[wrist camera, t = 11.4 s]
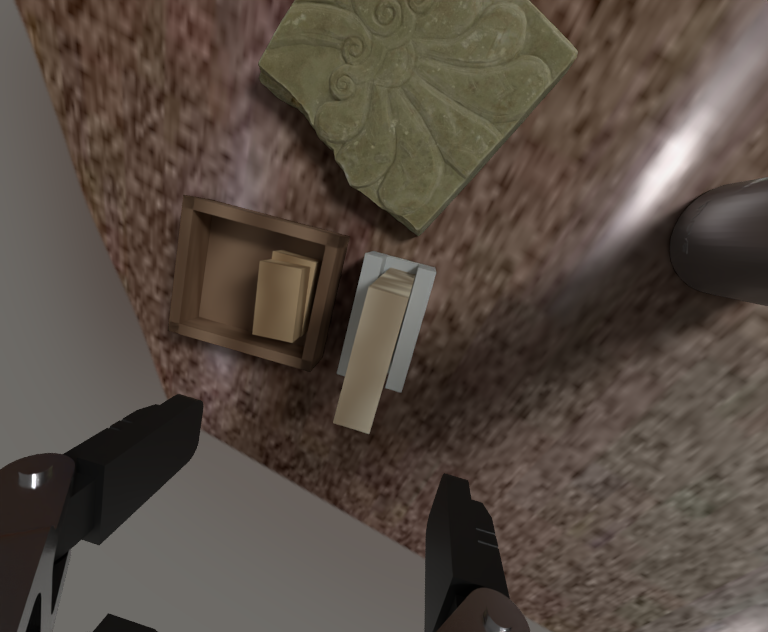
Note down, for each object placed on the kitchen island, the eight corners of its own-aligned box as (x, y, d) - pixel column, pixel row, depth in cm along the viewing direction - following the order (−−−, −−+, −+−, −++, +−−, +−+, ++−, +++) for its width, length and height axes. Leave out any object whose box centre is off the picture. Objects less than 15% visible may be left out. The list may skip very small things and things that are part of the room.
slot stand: (435, 267, 34) (436, 272, 30) (404, 373, 37) (401, 392, 32) (373, 251, 34) (365, 253, 30) (347, 357, 37) (336, 373, 33)
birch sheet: (415, 274, 33) (408, 298, 21) (389, 363, 36) (369, 434, 23) (390, 267, 34) (368, 286, 21) (366, 356, 36) (332, 422, 23)
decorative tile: (387, -109, 29) (381, -157, 25) (570, 69, 30) (588, 47, 26) (252, 95, 33) (231, 78, 30) (416, 243, 34) (414, 244, 31)
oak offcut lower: (323, 260, 34) (316, 262, 32) (308, 330, 36) (300, 336, 34) (282, 249, 34) (272, 250, 32) (270, 319, 36) (259, 325, 34)
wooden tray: (349, 236, 34) (339, 236, 30) (322, 357, 37) (310, 371, 33) (210, 199, 35) (183, 194, 31) (194, 321, 38) (167, 330, 34)
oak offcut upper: (310, 266, 32) (301, 269, 30) (301, 335, 34) (292, 342, 31) (271, 259, 32) (259, 260, 30) (263, 327, 34) (252, 334, 32)
